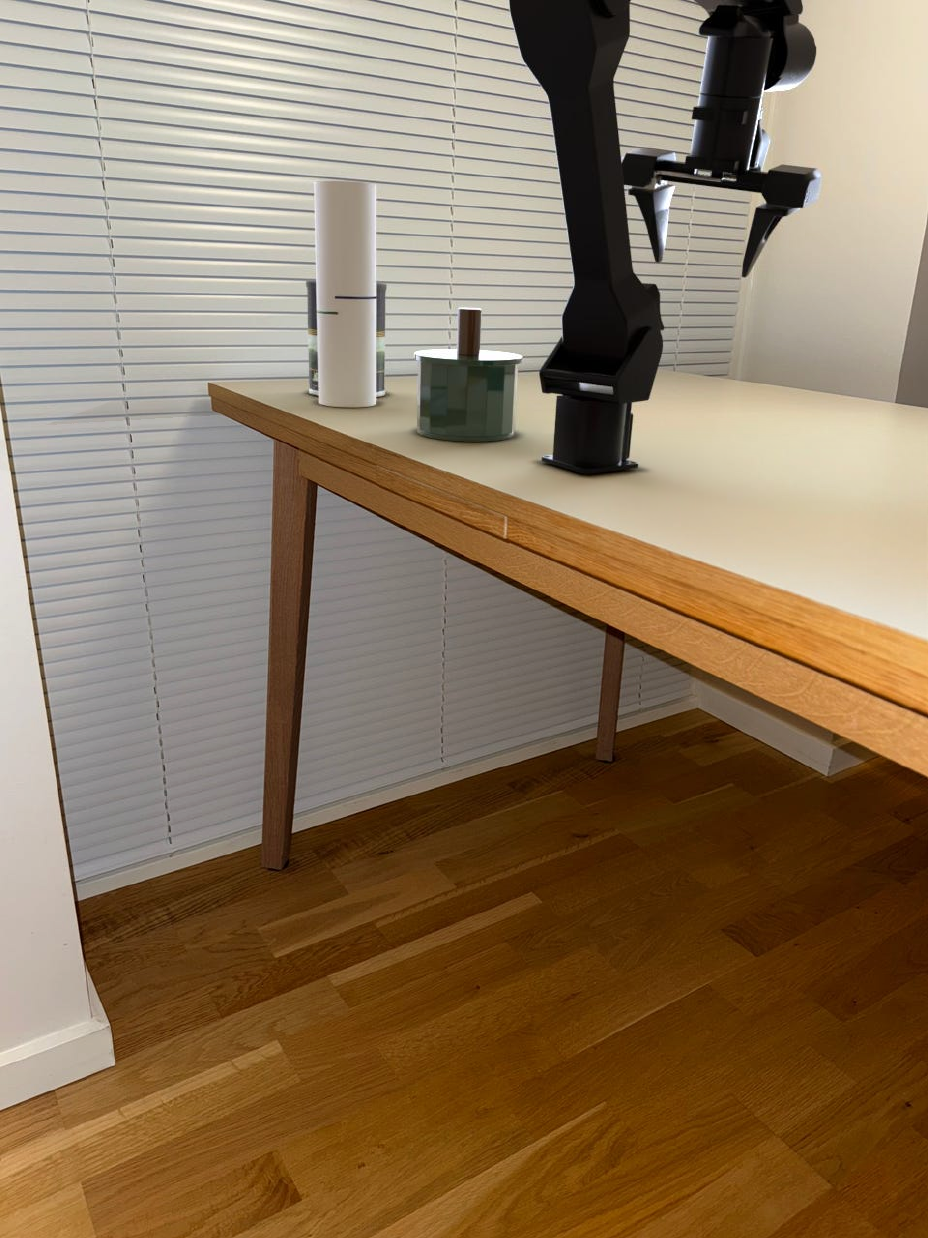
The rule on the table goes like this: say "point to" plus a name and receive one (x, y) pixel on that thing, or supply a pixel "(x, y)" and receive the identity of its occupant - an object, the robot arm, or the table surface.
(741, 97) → the robot arm
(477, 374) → the pot
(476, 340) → the lid
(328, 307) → the cylindrical container
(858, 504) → the table surface
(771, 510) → the table surface
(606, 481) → the table surface
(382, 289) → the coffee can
